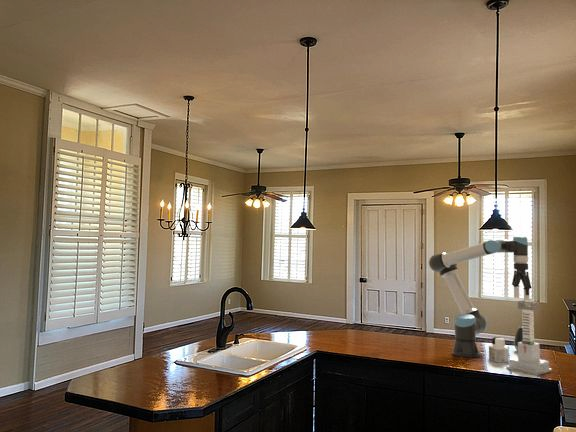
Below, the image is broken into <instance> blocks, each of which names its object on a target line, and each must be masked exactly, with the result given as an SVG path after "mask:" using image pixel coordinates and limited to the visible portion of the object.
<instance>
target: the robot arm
mask: <svg viewBox="0 0 576 432" xmlns="http://www.w3.org/2000/svg"><path fill="white" fill-rule="evenodd" d="M528 249H529V245H528V238H527V237H526V236H513V239H495V238H494V239H489V240H487V241H485V242H481V243H478V244H475V245H471V246H467V247H465V248H461V249H458V250H455V251H454V250H453V251H450V252H448V253H446V252H442V253H436V254H433V255H432V256H430V258H429V260H428V266H429V268H430V270H432V271H434V272H435V273H439V275H440V277H441V278H443V279H444V280H445V282H446V284H447V286H448V289H449V290H450V292H451V294H452V297H453V299H454V301H455V303H456V305H457V307H458V309H459V311H460V314H457V315H456V316H455V317H454V344H453V346H452V351H451V354H452V355H454V356H457V357H460V358H469V359H470V358H478V357H480V352H479V348H478V346H477V345H478V344H477V343H476V341H477V340H476V338H477V335H479V334H482V333H483V332H484V331H485V330H486V329H487V326H488V321H487V319H486V317H485V316H483V315H482V314H481V313H480V310H479V309H478V308H475V306H474V305H473V303H472V300H471V299H470V296H469V293H467V290H466V288H465V286H464V284H463V282H462V280H461V278H460V277H459V274H458V271H459V269H458V267H457V266H458V264H460V263H463V262H466V261H470V260H474V259H478V258H481V257H484V256H489V255H493V254H497V253H498V254H499V253H513V269H514V270H513V277H512V281H511V282H512V283H511V286H513V298H514V299H516V298H517V299H519V298H520V282H522V285H523V301H525V302H529V301H530V289H532V284H531V281H530V276H529V274H530V273H529V271H528V270H529V257H528V256H529V252H528V251H529V250H528Z"/></svg>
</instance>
